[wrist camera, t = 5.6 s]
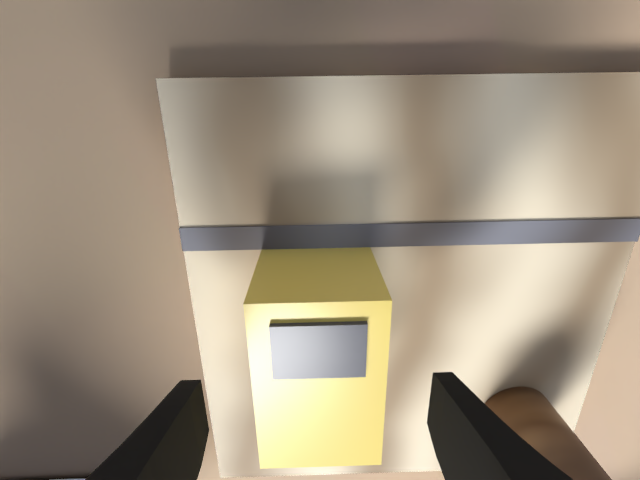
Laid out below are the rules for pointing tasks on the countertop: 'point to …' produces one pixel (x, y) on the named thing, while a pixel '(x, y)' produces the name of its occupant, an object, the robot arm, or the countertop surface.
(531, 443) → the bottle
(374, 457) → the block
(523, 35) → the countertop surface
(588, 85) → the cream striped towel
